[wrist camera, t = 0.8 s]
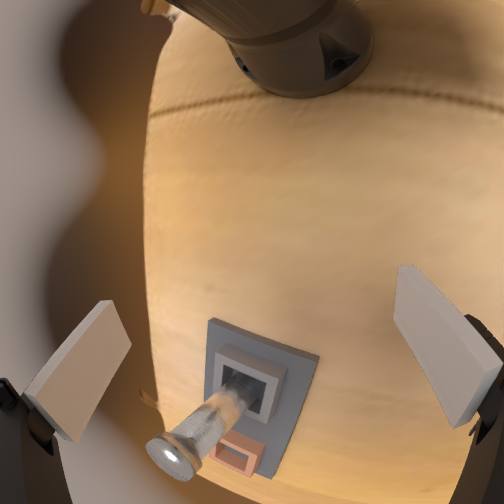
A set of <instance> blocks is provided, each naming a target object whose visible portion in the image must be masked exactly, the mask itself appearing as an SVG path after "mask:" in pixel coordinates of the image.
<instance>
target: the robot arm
mask: <svg viewBox="0 0 504 504" xmlns="http://www.w3.org/2000/svg"><path fill="white" fill-rule="evenodd" d="M165 1H167V2H168V3H170V4H172V5H174V6H176V7H177V8H179V9H181V10H182V11H184V12H186V13H187V14H189V15H191V16H192V17H194V18H195V19H197V20H199V21H200V22H202V23H203V24H205V25H206V26H208V27H209V28H211V29H212V30H213V31H215V32H217V33H218V34H219V35H221V36H222V37H223V38H225V40H226V42H227V44H228V46H229V48H230V50H231V52H232V54H233V56H234V58H235V60H236V62H237V64H238V66H239V67H240V69H241V70H242V71H243V72H244V74H245V75H246V76H247V77H249V78H250V79H251V80H252V81H254V82H255V83H256V84H258V85H259V86H261V87H262V88H264V89H265V90H267V91H269V92H272V93H274V94H277V95H281V96H285V97H292V98H309V97H316V96H321V95H325V94H328V93H331V92H333V91H336V90H338V89H340V88H342V87H344V86H346V85H347V84H349V83H350V82H352V81H353V80H354V79H355V78H356V77H358V76H359V75H360V74H361V72H362V71H363V70H364V69H365V67H366V66H367V64H368V62H369V60H370V58H371V55H372V52H373V46H374V40H373V33H372V29H371V25H370V21H369V19H368V17H367V15H366V13H365V11H364V10H363V8H362V7H361V6H360V5H359V4H358V3H357V2H356V1H355V0H165ZM393 321H394V322H395V324H396V326H397V327H398V329H399V330H400V332H401V334H402V335H403V337H404V339H405V340H406V342H407V344H408V345H409V347H410V349H411V351H412V352H413V354H414V356H415V358H416V359H417V361H418V363H419V365H420V366H421V368H422V370H423V372H424V374H425V376H426V377H427V379H428V381H429V383H430V385H431V387H432V389H433V391H434V392H435V394H436V396H437V398H438V400H439V402H440V404H441V406H442V408H443V410H444V412H445V414H446V416H447V419H448V421H449V423H450V425H451V427H452V429H455V428H457V427H459V426H461V425H463V424H465V423H467V422H469V421H471V419H472V418H473V416H474V415H475V413H476V411H478V413H479V415H480V418H479V420H478V421H477V423H476V424H475V425H474V427H473V428H472V430H471V431H470V433H469V436H471V435H472V434H473V432H474V431H475V434H474V437H473V441H472V444H471V447H470V451H469V454H468V457H467V460H466V463H465V465H464V468H463V471H462V474H461V476H460V479H459V481H458V484H457V486H456V488H455V491H454V493H453V495H452V498H451V500H450V502H449V504H504V347H503V346H502V345H501V344H500V343H499V342H498V340H497V339H496V338H495V337H493V335H492V334H491V332H490V331H489V330H488V331H487V328H486V327H485V326H484V325H483V324H482V323H481V321H480V320H478V319H476V318H475V317H473V316H471V315H469V314H468V315H465V316H463V315H462V314H461V313H460V311H459V310H458V309H457V308H456V307H455V306H454V305H453V304H452V303H451V302H450V301H449V300H448V299H447V298H446V297H445V296H444V295H443V294H442V293H441V292H440V291H439V290H438V289H437V288H436V287H435V286H434V285H433V284H432V283H431V282H430V281H429V280H428V279H427V278H426V277H425V276H424V275H423V274H422V273H421V272H420V271H419V270H418V269H417V268H416V267H415V266H414V265H407V266H401V267H398V274H397V286H396V297H395V306H394V314H393ZM131 345H132V344H131V342H130V340H129V338H128V336H127V334H126V332H125V329H124V327H123V325H122V323H121V320H120V318H119V316H118V313H117V311H116V308H115V306H114V304H113V301H112V300H109V301H108V300H107V301H100V302H99V303H98V304H97V305H96V306H95V307H94V309H93V310H92V311H91V312H90V313H89V314H88V315H87V316H86V318H84V319H83V321H82V322H81V323H80V324H79V325H78V326H77V327H76V329H75V330H74V331H73V332H72V333H71V334H70V335H69V337H68V338H67V339H66V340H65V341H64V342H63V344H62V345H61V346H60V347H59V348H58V350H57V351H56V352H55V353H54V354H53V356H52V357H51V358H50V359H49V360H48V361H47V363H46V364H45V365H44V366H43V368H42V369H41V370H40V371H39V373H38V374H37V375H36V376H35V378H34V379H33V380H32V382H31V383H30V384H29V386H28V387H27V388H26V389H25V391H24V392H23V394H22V395H21V396H19V394H18V393H17V392H16V390H15V389H14V388H13V386H12V385H11V383H10V382H9V381H8V380H7V379H6V378H0V504H73V503H72V500H71V497H70V494H69V490H68V487H67V483H66V479H65V475H64V471H63V467H62V462H61V457H60V452H59V447H58V441H57V439H56V437H55V436H54V435H53V434H54V432H55V430H56V431H57V433H58V434H59V435H60V436H61V437H62V438H63V439H65V440H67V441H70V442H73V443H77V442H78V440H79V438H80V436H81V434H82V432H83V430H84V428H85V427H86V425H87V423H88V421H89V419H90V417H91V415H92V413H93V411H94V410H95V408H96V406H97V404H98V402H99V401H100V399H101V397H102V395H103V393H104V391H105V390H106V388H107V386H108V384H109V383H110V381H111V379H112V377H113V376H114V374H115V372H116V371H117V369H118V367H119V365H120V364H121V362H122V360H123V359H124V357H125V355H126V354H127V352H128V350H129V348H130V347H131Z"/></svg>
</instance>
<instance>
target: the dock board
mask: <svg viewBox="0 0 504 504" xmlns="http://www.w3.org/2000/svg"><path fill="white" fill-rule="evenodd" d="M318 360H319V356H316V355H313V354H310V353H307V352H304V351H301V350H298V349H295V348H292V347H289V346H287V345H284V344H281V343H278V342H275V341H273V340H270V339H267V338H265V337H262V336H259V335H257V334H254V333H251V332H249V331H246V330H244V329H241V328H238V327H236V326H233V325H231V324H228V323H226V322H223V321H221V320H219V319H216V318H212V319H210V320H209V321H208V330H207V346H206V364H205V385H204V402H205V401H206V400H208V399H209V398H210V397H211V396H212V395H213V394H214V393H215V392H216V391H217V390H219V389H220V388H221V387H222V386H223V385H224V384H225V383H226V382H227V381H228V380H229V379H230V378H231V377H232V376H233V375H234V374H236V373H237V372H238V371H240V372H242V373H244V374H247V375H249V376H251V377H254V378H256V379H258V380H261V381H263V382H266V387H265V389H264V390H263V392H262V393H261V394H260V395H259V396H258V398H257V399H256V400H255V401H254V402H253V404H252V405H251V406H250V407H249V408H248V410H247V411H246V412H245V413H244V414H243V415H242V416H241V418H240V419H239V420H238V421H237V422H236V423H235V424H234V426H233V427H232V428H231V429H230V430H229V431H228V432H227V433H226V434H225V436H224V437H223V438H222V439H221V440H220V441H219V442H218V443H217V444H216V445H215V446H214V447H213V448H212V449H211V451H210V452H209V457H210V458H212V459H214V460H215V461H217V462H219V463H221V464H223V465H225V466H227V467H229V468H231V469H233V470H235V471H237V472H239V473H241V474H243V475H245V476H247V477H250V478H251V476H252V475H253V474H254V472H255V473H257V474H259V475H262V476H264V477H266V478H269V479H272V478H273V476H274V475H275V473H276V470H277V468H278V466H279V464H280V461H281V459H282V457H283V455H284V452H285V450H286V448H287V445H288V443H289V440H290V438H291V435H292V433H293V430H294V428H295V425H296V423H297V420H298V418H299V415H300V412H301V410H302V407H303V404H304V401H305V399H306V396H307V393H308V390H309V387H310V384H311V381H312V378H313V375H314V372H315V369H316V366H317V363H318Z"/></svg>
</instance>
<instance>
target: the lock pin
mask: <svg viewBox="0 0 504 504" xmlns="http://www.w3.org/2000/svg"><path fill="white" fill-rule="evenodd" d="M265 387H266V382H263V381H261V380H258V379H256V378H254V377H251V376H249V375H247V374H244V373H242V372H240V371H238V372H237V373H236V374H234V375H233V376H232V377H231V378H230V379H229V380H228V381H227V382H226V383H225V384H224V385H223V386H222V387H221V388H220V389H219V390H217V391H216V392H215V393H214V394H213V395H212V396H211V397H210V398H209V399H208V400H206V401H205V402H204V403H203V404H202V405H201V406H200V407H199V408H198V409H196V410H195V411H194V412H193V413H192V414H191V415H190V416H188V417H187V418H186V419H185V420H184V421H183V422H181V423H180V424H179V425H178V426H177V427H175V428H174V429H173V430H172V431H171V432H161V433H160V434H159V435H157V436H156V437H155V438H153V439H152V440H151V441H150V442H148V443H147V444H146V450H147V452H148V454H149V455H150V457H151V458H152V459H153V461H154V462H155V463H156V464H157V465H158V466H159V467H160V468H161V469H162V470H164V471H165V472H166V473H168V474H169V475H171V476H172V477H174V478H176V479H178V480H181V481H188V480H189V479H190V478H191V477H192V476H193V475H194V474H195V473H196V472H197V471H198V470H199V469H200V468H201V467H202V461H201V460H202V459H203V458H204V457H205V456H206V455H207V454H208V453H209V452H210V451H211V449H212V448H213V447H214V446H215V445H216V444H217V443H218V442H219V441H220V440H221V439H222V438H223V437H224V436H225V434H226V433H227V432H228V431H229V430H230V429H231V428H232V427H233V426H234V424H235V423H236V422H237V421H238V420H239V419H240V418H241V416H242V415H243V414H244V413H245V412H246V411H247V410H248V408H249V407H250V406H251V405H252V404H253V402H254V401H255V400H256V399H257V398H258V396H259V395H260V394H261V393H262V392H263V390H264V389H265Z"/></svg>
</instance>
